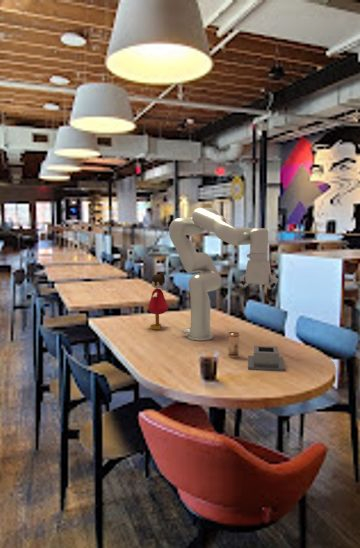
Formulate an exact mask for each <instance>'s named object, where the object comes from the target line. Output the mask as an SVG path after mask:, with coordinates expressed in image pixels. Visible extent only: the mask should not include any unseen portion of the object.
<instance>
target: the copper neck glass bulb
mask: <svg viewBox="0 0 360 548" xmlns="http://www.w3.org/2000/svg"><path fill="white" fill-rule="evenodd" d="M227 334H228V335H227V336H228V354H227V357H228V358H231V359H237V358H240V354H239V350H240V347H239V346H240V345H239V344H240V343H239V342H240V339H239V338H240V333H239V332H238V331H229V332H228V333H227Z"/></svg>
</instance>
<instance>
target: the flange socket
mask: <svg viewBox="0 0 360 548" xmlns="http://www.w3.org/2000/svg"><path fill="white" fill-rule="evenodd" d="M247 370H250V371H251V370H252V371H254V370H255V371H273V372H274V371H275V372H276V371H277V372H286V364H285V361H284V358H283V356H280V352H279V347H278V346H273V345H270V346H269V345H253V355H247Z"/></svg>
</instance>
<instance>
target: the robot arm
mask: <svg viewBox="0 0 360 548" xmlns="http://www.w3.org/2000/svg"><path fill="white" fill-rule="evenodd" d="M206 230H207V231H209V232H211V233H213V234H214V235H215V236H216V238H218V239H219V240H221V241H223V242H226V243H228V244H229V245H232V246H247V245H249V253H248V254H247V255H246V257H247V258H248V259H249V260H247V263H246V267H245V269H246V270H245V273H244V274H241V275H240V276H239V277H238V278H239V281H240V284H242V286H243V287H244V295H245V297H249V296H251V295H250V294H251V292H250V291H251V289H250V288H251V287H250V285H263V286H264V285H265V286H266V287H267V289H266V299H271V297H272V296H273V289H274V287H276V286H277V283H278V281H279V278H277V277H276V276H275V275H272V272H271V264H270V260H269V257H268V256H269V231H268V228H264V227H263V228H262V227H258V228H257V227H256V228H253V227H235V226H232V225H230V224H228V223H227V219H226V217H225V216H223V215H221V214H220V213H219V211H217V210H216V209H215V208H212V207H198V208H197V207H196V209H194V210H193V211H192V213H191V217H177V218H175V219H173V220H172V221H171V223H170V224H169V227H168V234H169V239H170V241H171V242H172V245H173V246H174V248H175V250H176V252H177V255H178V257H179V259H180V261H181V265H182V266H183V268H184V270H185V271H186V272H187V273H188V274H189V273H191V274H192V273H193V274H192V276H190V277H189V280H188V290H189V294H190V327H188V328H181V332H182V333H183V334H187V338H188V339H189V340H192V341H199V342H200V341H201V342H202V341H203V342H204V341H209V340H212V339H214V334H213V333H212V332H211V299H210V296H209V294H208V293H210V292H214V291H216V290H218V289H219V288H220V286H221V282H222V281H221V276H220V274H219V271H218V270H217V267H216V265H215V264H214V261H213V259H212V257H211V255H209V254H208V253H206V252H201V251H200V252H197V251H196V249H195V246H194V244H193V242H192V241H191V240H190V239H189V238H188V236H191V235H199V234H201V233H203V232H204V231H206ZM194 273H195V274H194ZM244 278H245V280H244ZM271 280H273V282H272V281H271ZM271 282H272V283H271Z"/></svg>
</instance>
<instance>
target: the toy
mask: <svg viewBox="0 0 360 548" xmlns="http://www.w3.org/2000/svg"><path fill="white" fill-rule="evenodd" d="M165 281H166V279H165V273H164V272H160V273H159V274H158V273H157V274H156V273H155V274H154V275H152V276H151V285H152V288H153V289H154V290H153V291H152V292H151V297H150V300H149V303H148V307H147V310H148V312H150V314H152V315H153V314H154V315H155V317H154V318H155V319H154V320H155V323H154V324H150V325H149V330H150V329H160V330H161V327H162V324H161V323H160V315H163V314H165V313H166V312H167V311H168V310H169V305H168V302H167V299H166V298H165V295H164V292H163V290H162V286H163V285H164V284H165Z"/></svg>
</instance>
